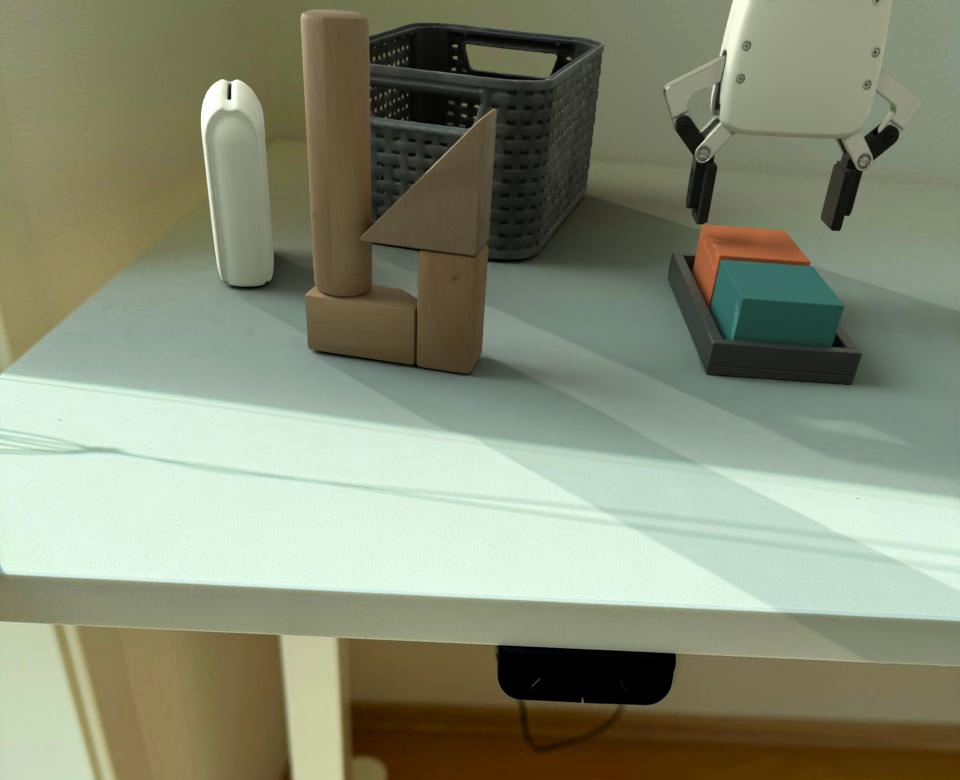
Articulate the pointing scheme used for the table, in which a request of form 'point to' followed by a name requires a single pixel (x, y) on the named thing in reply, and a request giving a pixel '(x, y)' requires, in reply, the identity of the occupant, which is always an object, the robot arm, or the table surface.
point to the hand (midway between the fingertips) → (764, 222)
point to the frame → (756, 356)
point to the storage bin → (519, 124)
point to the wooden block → (389, 219)
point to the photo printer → (238, 183)
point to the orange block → (740, 252)
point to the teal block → (774, 304)
